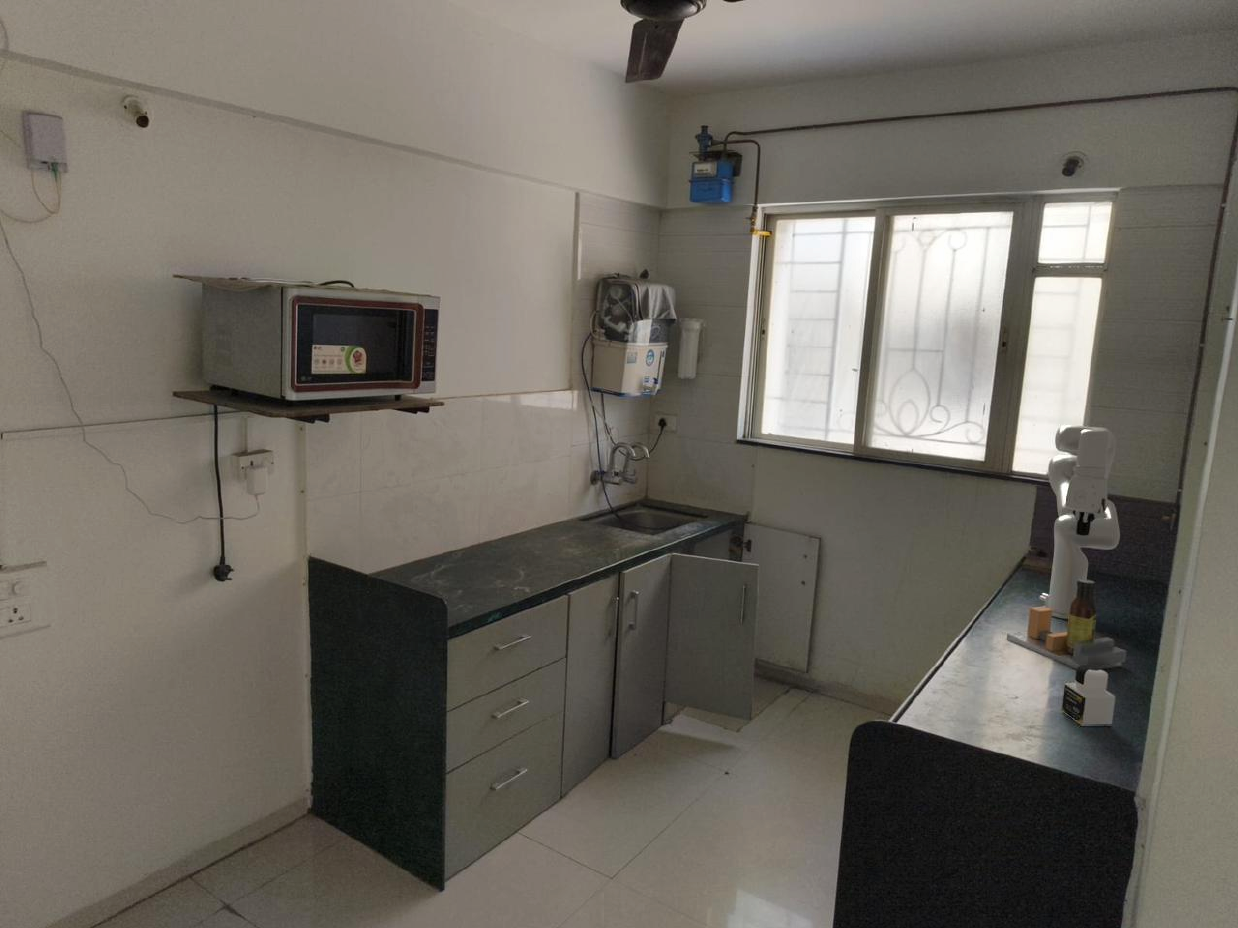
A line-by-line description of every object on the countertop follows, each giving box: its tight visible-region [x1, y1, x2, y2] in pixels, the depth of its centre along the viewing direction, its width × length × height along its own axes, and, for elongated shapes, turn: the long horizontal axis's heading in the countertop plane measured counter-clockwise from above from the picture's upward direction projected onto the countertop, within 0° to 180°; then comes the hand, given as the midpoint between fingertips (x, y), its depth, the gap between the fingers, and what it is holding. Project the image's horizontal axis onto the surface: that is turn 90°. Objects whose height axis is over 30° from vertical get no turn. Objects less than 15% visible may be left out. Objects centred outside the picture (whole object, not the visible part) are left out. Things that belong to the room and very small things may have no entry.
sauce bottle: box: [1066, 579, 1097, 654], centre depth 210 cm, size 7×6×20 cm
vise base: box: [1006, 630, 1128, 670], centre depth 215 cm, size 25×14×6 cm, turn 21°
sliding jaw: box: [1027, 605, 1067, 651], centre depth 219 cm, size 11×12×8 cm
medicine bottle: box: [1061, 665, 1116, 725], centre depth 175 cm, size 7×7×12 cm
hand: (1082, 534), depth 230 cm, fingers closed
